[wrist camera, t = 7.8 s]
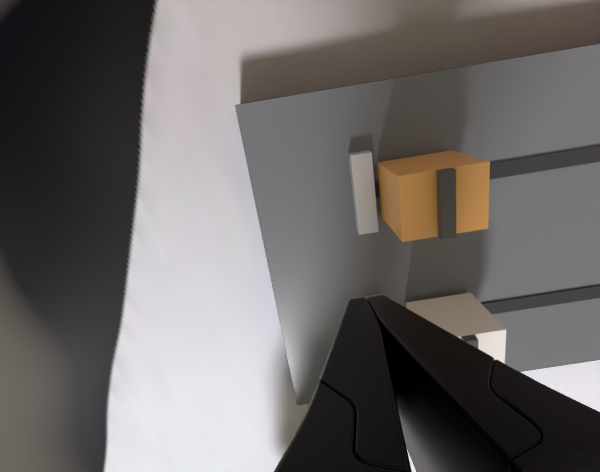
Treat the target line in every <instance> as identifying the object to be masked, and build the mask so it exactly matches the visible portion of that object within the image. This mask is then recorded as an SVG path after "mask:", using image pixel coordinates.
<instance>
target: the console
mask: <svg viewBox="0 0 600 472" xmlns="http://www.w3.org/2000/svg"><path fill="white" fill-rule="evenodd" d="M235 107H236V112H237V117H238V122H239V127H240V131H241V136H242V141H243V146H244V151H245V156H246V160H247V165H248V170H249V175H250V180H251V185H252V190H253V194H254V199H255V204H256V209H257V214H258V219H259V223H260V228H261V233H262V238H263V243H264V248H265V252H266V257H267V262H268V267H269V272H270V277H271V281H272V286H273V291H274V296H275V301H276V306H277V311H278V315H279V320H280V325H281V330H282V335H283V340H284V344H285V349H286V354H287V359H288V364H289V369H290V373H291V378H292V383H293V388H294V393H295V398H296V402H297V405H301V404H308V403H310V402H311V400H312V397H313V395H314V392H315V389H316V387H317V384H318V383H319V379H320V376H321V374H322V371H323V368H324V366H325V363H326V360H327V358H328V355H329V352H330V350H331V347H332V344H333V342H334V339H335V336H336V333H337V331H338V328H339V325H340V323H341V320H342V317H343V315H344V312H345V309H346V307H347V304H348V301H349V300H350V299H355V298H362V297H364V298H366V299H367V298H368V297H370V296H377V295H384V296H386V297H388V298H390V299H392V300H393V301H395V302H397V303H399V304H400V305H402V306H404V307H406V302H413V301H419V300H426V299H432V298H438V297H445V296H451V295H458V294H464V293H472V295H473V296H474V297H475V298H476V299H477V300H478V301H479V302H480V303H481V304H482V305H483V306H484V307H485V308H486V309H487V310H488V311H489V312H490V313H491V314H492V315H493V316H494V317H495V318H496V319H497V320H498V321H499V322H500V324H501V325H502V326H503V327H504V328H505V329H506V346H505V364H506V365H508V366H510V367H511V368H513V369H515V370H517V371H519V372H522V371H528V370H535V369H542V368H548V367H555V366H562V365H568V364H575V363H582V362H588V361H595V360H600V44H596V45H590V46H584V47H578V48H572V49H566V50H560V51H554V52H548V53H542V54H536V55H530V56H524V57H518V58H512V59H506V60H500V61H494V62H488V63H483V64H477V65H471V66H465V67H459V68H453V69H447V70H441V71H435V72H429V73H423V74H417V75H411V76H405V77H399V78H393V79H387V80H381V81H375V82H369V83H363V84H357V85H352V86H346V87H340V88H334V89H328V90H322V91H316V92H310V93H304V94H298V95H292V96H286V97H280V98H274V99H268V100H262V101H256V102H250V103H244V104H238V105H235ZM450 150H453V151H456V152H460V153H463V154H466V155H470V156H473V157H477V158H480V159H484V160H487V161H490V180H489V218H488V229H482V230H476V231H469V232H463V233H457V234H456V238H450V239H444V240H441V239H440V238H439V237H431V238H425V239H419V240H412V241H406V242H402V241H401V240H400V239H399V238H398V236H397V235H396V234H395V233H394V232H393V230H392V229H391V228H390V227H389V226H388V224H387V223H386V222H385V221H384V219H383V218H382V216H381V203H380V191H379V179H378V167H377V162H382V161H389V160H395V159H401V158H407V157H413V156H419V155H425V154H431V153H438V152H444V151H450Z"/></svg>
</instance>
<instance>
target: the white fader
mask: <svg viewBox="0 0 600 472" xmlns="http://www.w3.org/2000/svg"><path fill="white" fill-rule="evenodd" d="M406 308H407V309H409V310H411V311H413V312H414V313H416V314H418V315H420V316H422V317H423V318H425V319H427V320H429V321H430V322H432V323H434V324H436V325H437V326H439V327H441V328H443V329H444V330H446V331H448V332H450V333H451V334H453V335H455V336H457V337H458V338H460V339H462V340H464V341H465V342H467V343H469V344H471V345H473V346H474V347H476V348H478V349H480V350H481V351H483V352H485V353H487V354H488V355H490V356H492V357H493V358H494V360H499V361H501V362H503V363H504V364H505V346H506V329H505V328H504V327H503V326H502V325H501V324H500V322H499V321H498V320H497V319H496V318H495V317H494V316H493V315H492V314H491V313H490V312H489V311H488V310H487V309H486V308H485V307H484V306H483V305H482V304H481V303H480V302H479V301H478V300H477V299H476V298H475V297H474V296H473V295H472V293H464V294H458V295H451V296H445V297H438V298H432V299H426V300H419V301H413V302H406Z"/></svg>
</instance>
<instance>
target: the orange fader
mask: <svg viewBox="0 0 600 472" xmlns="http://www.w3.org/2000/svg"><path fill="white" fill-rule="evenodd" d="M377 167H378V179H379V191H380V203H381V216H382V218H383V219H384V221H385V222H386V223H387V224H388V226H389V227H390V228H391V229H392V230H393V232H394V233H395V234H396V235H397V236H398V238H399V239H400V240H401V241H402V242H406V241H412V240H419V239H425V238H431V237H439V238H440V239H441V240H444V239H450V238H456V234H457V233H463V232H469V231H476V230H482V229H488V218H489V180H490V161H487V160H484V159H480V158H477V157H473V156H470V155H466V154H463V153H460V152H456V151H453V150H450V151H444V152H438V153H431V154H425V155H419V156H413V157H407V158H401V159H395V160H389V161H382V162H377Z"/></svg>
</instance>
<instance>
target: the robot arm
mask: <svg viewBox="0 0 600 472" xmlns="http://www.w3.org/2000/svg"><path fill="white" fill-rule="evenodd" d="M406 446H407V448H406ZM407 449H408V451H409V454H410V456H411V459H412V461H413V464H414V466H415V469H416V471H417V472H600V412H599V411H596V410H594V409H592V408H590V407H588V406H586V405H584V404H582V403H580V402H577V401H575V400H573V399H571V398H569V397H567V396H565V395H563V394H561V393H559V392H557V391H555V390H553V389H551V388H549V387H547V386H545V385H543V384H541V383H539V382H537V381H535V380H534V379H532V378H530V377H528V376H526V375H524V374H522V373H521V372H519V371H517V370H515V369H513V368H511V367H510V366H508V365H506V364H504V363H503V362H501V361H499V360H494V358H493V357H492V356H490V355H488V354H487V353H485V352H483V351H481V350H480V349H478V348H476V347H474V346H473V345H471V344H469V343H467V342H465V341H464V340H462V339H460V338H458V337H457V336H455V335H453V334H451V333H450V332H448V331H446V330H444V329H443V328H441V327H439V326H437V325H436V324H434V323H432V322H430V321H429V320H427V319H425V318H423V317H422V316H420V315H418V314H416V313H414V312H413V311H411V310H409V309H407V308H406V307H404V306H402V305H400V304H399V303H397V302H395V301H393V300H392V299H390V298H388V297H386V296H384V295H377V296H370V297H368V298H367V299H366V298H364V297H362V298H355V299H350V300H349V301H348V304H347V307H346V309H345V312H344V315H343V317H342V320H341V323H340V325H339V328H338V331H337V333H336V336H335V339H334V342H333V344H332V347H331V350H330V352H329V355H328V358H327V360H326V363H325V366H324V368H323V371H322V374H321V376H320V379H319V383H318V384H317V387H316V389H315V392H314V395H313V397H312V400H311V402H310V404H309V407H308V409H307V411H306V414H305V416H304V418H303V420H302V422H301V423H300V425H299V427H298V429H297V431H296V433H295V435H294V437H293V439H292V440H291V442H290V444H289V446H288V447H287V449H286V451H285V453H284V454H283V456H282V458H281V460H280V462H279V463H278V465H277V467H276V469H275V470H274V472H411V467H410V462H409V458H408V453H407Z"/></svg>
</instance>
